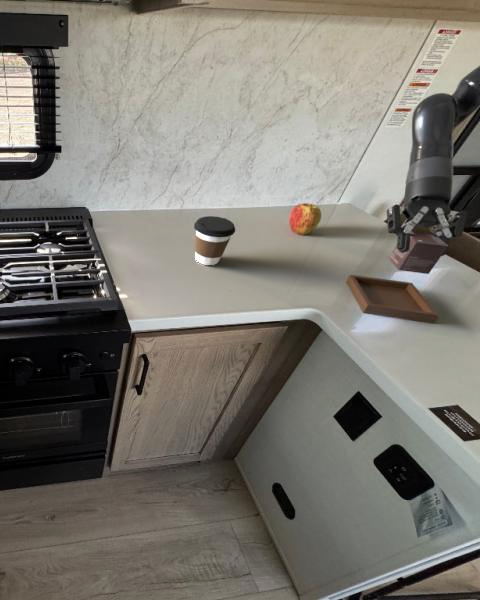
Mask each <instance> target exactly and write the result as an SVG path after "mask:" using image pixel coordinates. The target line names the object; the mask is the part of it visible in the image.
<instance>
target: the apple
mask: <svg viewBox="0 0 480 600" xmlns="http://www.w3.org/2000/svg"><path fill="white" fill-rule="evenodd" d="M321 219H322V211H321V209H320V208H319V207H318V206H317V205H315V204H313V203H309V202H304V203H299V204H297V205H295V206H294V207H293V208H292V210H291V212H290V213H289V217H288V222H289V228H290V230H291V232H292V233H293V234H297V235H302V236H303V235H308V234H310V233H312V232H313V231H314V230H315V229H316V228H317V227H318V225H319V224H320V222H321Z"/></svg>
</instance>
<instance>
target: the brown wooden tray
mask: <svg viewBox="0 0 480 600" xmlns="http://www.w3.org/2000/svg"><path fill="white" fill-rule="evenodd" d="M345 283H346V285H347V287H348V289H349V290H350V292H351V294H352V296H353V298H354V299H355V301H356V303H357V304H358V307H359V308H360V309H361V311H362V313H363V314H369V315H374V316H375V315H376V316H383V317H388V318H394V317H396V318H395V319H401V318H402V319H401V320H407V319H409V320H408V321H415V322H420V323H421V322H422V323H426V324H435V323H436V321H437V320H438V318H440V314H439V313H438V312H437V311H436V310H435V308H434V307H433V306H432V305H431V304H430V302H429V301H428V299H426V298H425V296H424V295H423V294H422V293H421V292H420V291H419V289H418V288H417V287H416V286H415V285H414V283H413V282H408V281H401V280H394V279H386V278H379V277H370V276H362V275H355V274H349V275H348V277H347V279H346V280H345Z"/></svg>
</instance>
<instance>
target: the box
mask: <svg viewBox="0 0 480 600" xmlns="http://www.w3.org/2000/svg"><path fill="white" fill-rule="evenodd" d="M409 234H411V235H410V246H409V250H408V251H406V252H404V253H402V252H399V250H398V249H397V244H396V245H395V247H394V248H393V250H392V251H391V253H390V256H388V259H389V261H390V262H391V263H392V264H393V265H394V267H395V268H396V269H397V271H403V272H410V273H417V274H425V275H429V274H430V273H431V271H432V270H433V268H434V267H435V266H436V264H437V263H438V261H439V260H440V259H441V257H443V256H442V254H443V253H444V251H445V250H446V248H447V247H448V245H447V244H446V243H445V242H444V241H443V240H442V239H441V238H439V237H438V236H437V235H436V234H434V233H432V232H420V231H413V230H411V231H410V233H409Z"/></svg>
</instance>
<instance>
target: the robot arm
mask: <svg viewBox="0 0 480 600" xmlns="http://www.w3.org/2000/svg"><path fill="white" fill-rule="evenodd" d="M479 108H480V65H478V66H477V67H475V68H474V69H473V70H471V71H470V72H469V73H467V74H466V75H465V76H464V77H463V78H461V80H459V82H458V84H457V86H456V89H455V90H454V92H453V93H452V94H449V93H446V92H437V93H433V94H430V95H429V96H427V97H425V98H423V99H422V100H421V101H419V103H418V104H417V105H416V107H415V109H414V111H413V113H412V116H411V117H412V118H411V144H412V145H411V150H410V154H409V163H408V169H407V173H406V179H405V187H404V196H403V197H404V199H403V205H401V206H400V205H399V204H394V205H392V206H391V207H389V208H388V209H386V221H387V223H386V224H387V232H388V234H394V235H396V237H397V238H396V239H397V241H396V245H397V249H398V250H399V252H402V253H404V252H406V251H408V250H409V246H410V235H411V234H409V233H410V231H413V229H414V228H415V227H423V228H428V229H429V231H430V233H431V234H436V235H437V236H438V237H439V238H441V239H442V240H443V241H444V242H445V243H446V244H447V245H448V247H447V248H446V250H445V251H444V253H443V254H442V256H441V257H443V256H445V255H446V254H448V253H449V251H450V241H451V240H453V239H456V238H459V237H461V236H463V233H464V228H465V225H466V220H467V217H468V212H467V211H466V210H461V211H456V210H452V209H451V207H450V202H451V199H452V190H453V179H454V163H453V159H454V146H455V145H454V137H453V136H454V135H453V131H454V129H456V128H457V127H459V125H461V124H462V123H463V122H465V120H466V119H468V118H469V117H470V116H471V115H472V114H474V113H475V112H476V111H477V110H478V109H479ZM402 214H403V216H404V217H405V219H406V220H405V221H404V222H403V224H402V220H401V215H402ZM447 217H448V219H447Z"/></svg>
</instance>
